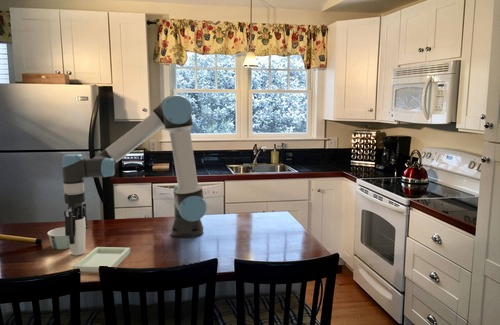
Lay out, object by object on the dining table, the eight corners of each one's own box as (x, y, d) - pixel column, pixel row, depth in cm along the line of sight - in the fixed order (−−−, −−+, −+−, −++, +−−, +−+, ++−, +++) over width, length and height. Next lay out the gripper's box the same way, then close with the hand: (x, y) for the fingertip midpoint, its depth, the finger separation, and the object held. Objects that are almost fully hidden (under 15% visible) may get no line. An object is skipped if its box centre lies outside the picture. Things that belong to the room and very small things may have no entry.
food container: (67, 251, 166) (66, 236, 165) (42, 249, 168) (40, 234, 167) (84, 241, 178) (83, 227, 177) (60, 240, 180) (59, 226, 179)
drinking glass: (80, 257, 159) (78, 220, 157) (65, 256, 161) (63, 220, 159) (90, 251, 166) (88, 216, 164) (76, 250, 167) (73, 215, 165)
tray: (130, 252, 164) (130, 247, 164) (110, 273, 144) (110, 267, 144) (97, 252, 165) (96, 247, 165) (73, 272, 145) (72, 266, 145)
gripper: (77, 187, 169) (80, 239, 173) (52, 198, 150) (56, 256, 154) (94, 187, 169) (97, 240, 172) (71, 198, 150) (75, 257, 153)
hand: (78, 247), depth 163 cm, fingers closed on drinking glass, 6 cm apart
